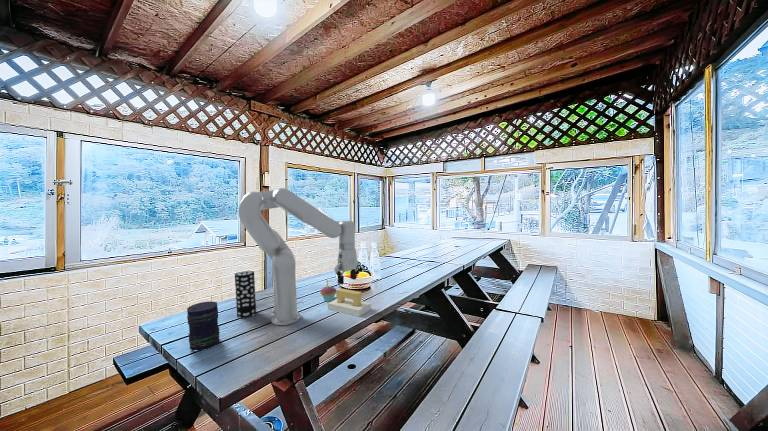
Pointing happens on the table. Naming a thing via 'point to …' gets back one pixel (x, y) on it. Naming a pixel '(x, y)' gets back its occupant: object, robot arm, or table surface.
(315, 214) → the robot arm
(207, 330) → the storage jar
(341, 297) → the yellow arch block
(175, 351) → the table surface
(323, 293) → the cupcake
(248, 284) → the white-spotted black cylinder
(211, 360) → the table surface
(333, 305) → the white slab with recess
